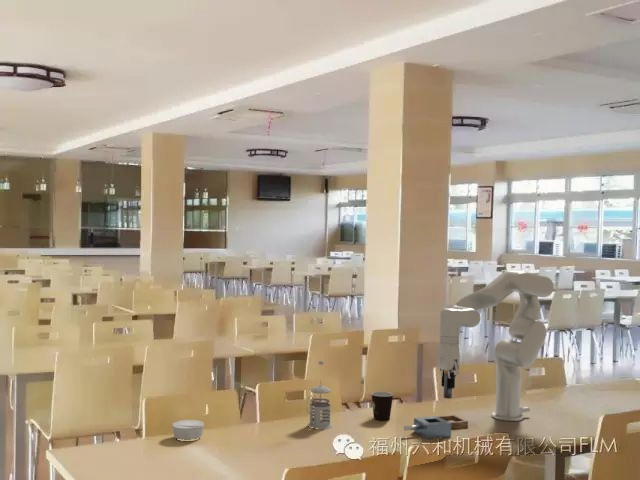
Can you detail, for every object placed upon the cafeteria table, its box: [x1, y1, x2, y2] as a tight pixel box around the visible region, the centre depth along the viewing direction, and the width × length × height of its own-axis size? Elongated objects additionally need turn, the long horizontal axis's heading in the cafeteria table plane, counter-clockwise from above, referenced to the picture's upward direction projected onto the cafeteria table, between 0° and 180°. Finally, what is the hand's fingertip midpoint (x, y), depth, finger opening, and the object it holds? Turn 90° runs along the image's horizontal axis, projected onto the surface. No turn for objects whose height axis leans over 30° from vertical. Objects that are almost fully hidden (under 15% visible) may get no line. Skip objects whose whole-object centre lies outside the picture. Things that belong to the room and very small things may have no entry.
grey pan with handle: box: [403, 415, 452, 440], centre depth 263 cm, size 16×10×5 cm, turn 111°
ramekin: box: [171, 419, 205, 440], centre depth 253 cm, size 11×11×5 cm
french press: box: [306, 360, 333, 430], centre depth 271 cm, size 10×12×25 cm
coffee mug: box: [371, 391, 394, 422], centre depth 285 cm, size 12×9×10 cm
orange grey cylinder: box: [443, 368, 453, 399], centre depth 276 cm, size 3×3×12 cm
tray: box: [438, 414, 469, 430], centre depth 277 cm, size 12×10×2 cm
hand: (447, 386), depth 276 cm, fingers closed on orange grey cylinder, 3 cm apart
